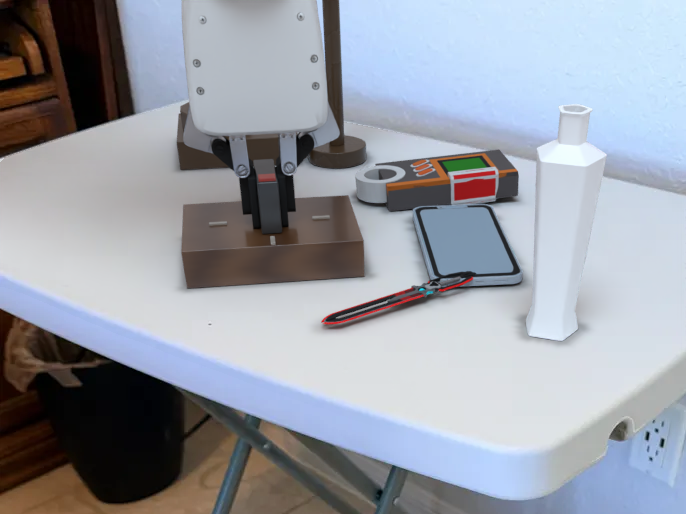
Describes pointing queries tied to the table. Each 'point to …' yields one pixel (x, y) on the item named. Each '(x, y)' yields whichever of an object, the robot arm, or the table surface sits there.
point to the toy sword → (400, 297)
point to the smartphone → (466, 244)
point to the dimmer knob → (268, 196)
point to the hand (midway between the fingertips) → (269, 220)
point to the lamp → (336, 99)
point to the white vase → (563, 222)
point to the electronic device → (439, 180)
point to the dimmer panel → (271, 244)
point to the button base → (197, 159)
